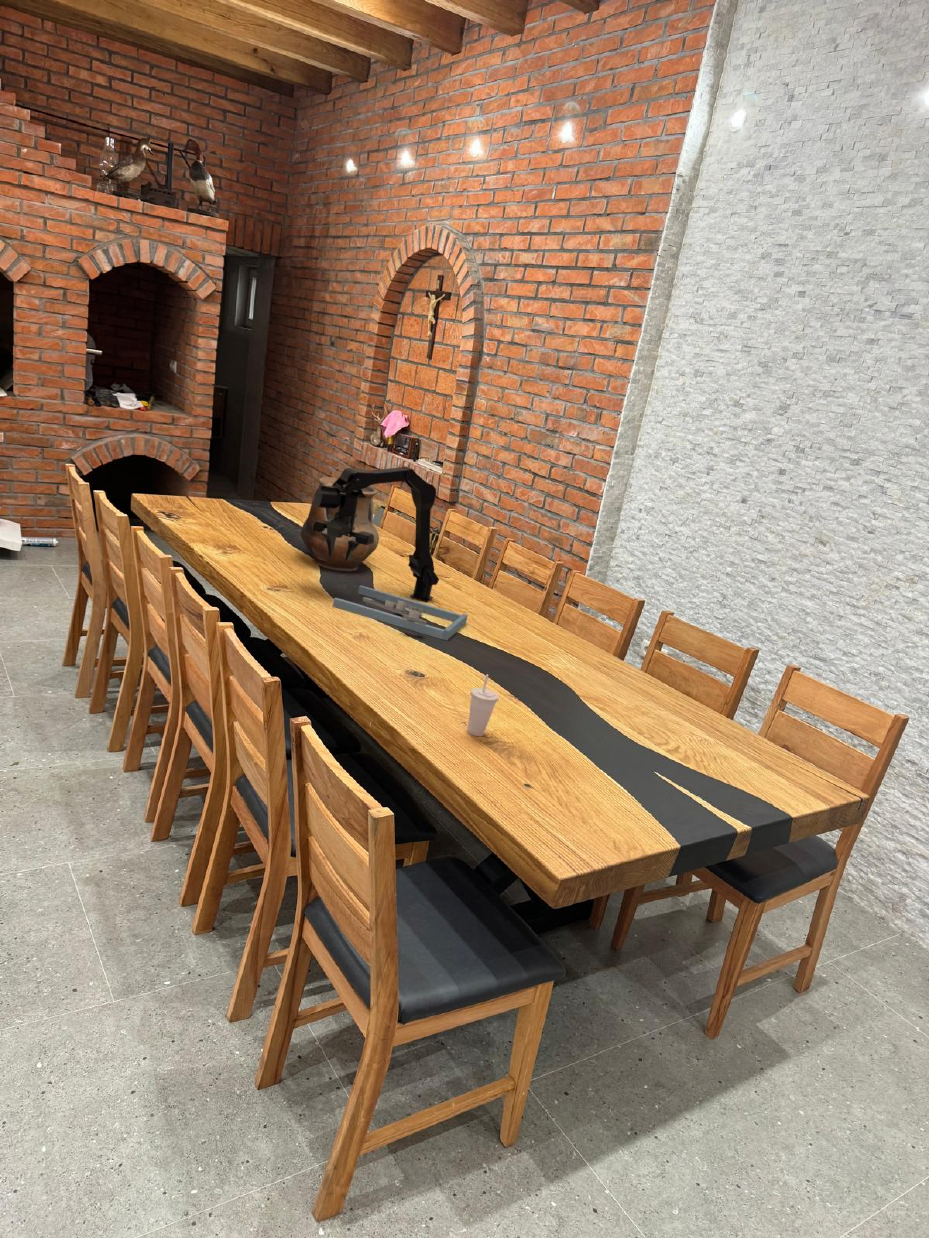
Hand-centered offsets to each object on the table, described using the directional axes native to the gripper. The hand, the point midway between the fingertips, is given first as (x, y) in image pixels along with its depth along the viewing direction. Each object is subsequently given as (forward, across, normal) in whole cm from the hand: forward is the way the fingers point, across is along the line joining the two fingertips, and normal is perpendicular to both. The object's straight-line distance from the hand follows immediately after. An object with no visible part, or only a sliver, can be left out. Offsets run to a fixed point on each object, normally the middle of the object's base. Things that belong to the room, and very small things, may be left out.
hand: (338, 558), depth 255 cm
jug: (+12, -15, +35) cm, 40 cm away
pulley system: (+10, +25, -6) cm, 28 cm away
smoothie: (+12, +66, -65) cm, 93 cm away
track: (+12, +23, 0) cm, 26 cm away
